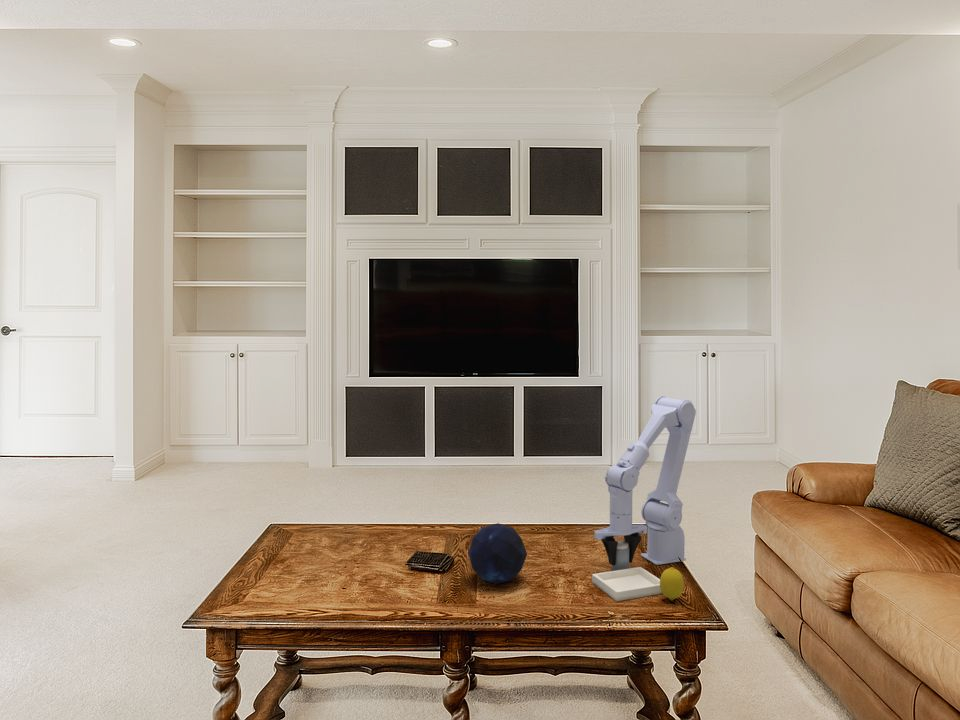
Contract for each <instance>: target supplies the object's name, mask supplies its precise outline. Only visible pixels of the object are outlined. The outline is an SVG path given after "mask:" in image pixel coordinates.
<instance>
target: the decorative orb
mask: <svg viewBox="0 0 960 720" xmlns="http://www.w3.org/2000/svg"><path fill="white" fill-rule="evenodd" d="M467 554H468V558H469V561H470V564H471V568H472V570H473V571H474V573H475V574H477V576H478V577H479V579H480V580H483V581H486V582H488V583H491V584H492V583H493V584H495V585H500V584H503V583H508V582H511V581H514V579H515V578H516V577H517V575H519V573H520V572H521V571H522V569H523V567H524V564H525V561H526V558H527V555H528V553H527V550H526V547H525V544H524V541H523V538H522V537H521V536H520V535H519V534H518V531H516V529H515V528H514V527H512V526H509V525H505V524H502V523H500V522H497V523H494V524H490V525H486V526H482V527H481V528H480V529H479V531H478V532H476V534H475V535H474V536H473V537H472V540H471V543H470V545H469V549H468V551H467Z"/></svg>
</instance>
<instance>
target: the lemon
mask: <svg viewBox="0 0 960 720" xmlns="http://www.w3.org/2000/svg"><path fill="white" fill-rule="evenodd" d="M659 579H660V589H661V591H662V593H663V596H665V597H666V598H668V599H669V601H674V600H675V599H677V598H680V596H682V595H683V592H684V588H685V581H684V576H683V575H682V573H681V572H680V571H679V570H678V569H676V568H675V567H674V566H671V567H670V568H666V569H664V571H663V572H662V573H661V576H660V578H659Z"/></svg>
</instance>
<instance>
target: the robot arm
mask: <svg viewBox="0 0 960 720" xmlns="http://www.w3.org/2000/svg"><path fill="white" fill-rule="evenodd" d="M650 410H651V411H650V412H651V416H650V417H649V420H648V421H647V423H646V425H645V426H644V429H643V430H642V432H641V434H640V436H639V438H638V440H637V441H634V442H631V443H630V444H628V446H627V448H626V449H625V451H624V452H623V454H622V456H620V458H619V460H617V463H616V464H613V465H612V466H610V467H609V468H608V469H607V472H606V474H605V476H604V481H605V484H606V485H607V487H608V488H607V490H608V493H609V526H607V527H604V528H602V529H598V530H594V533H593V536H594V539H595V540H597V541H601V543H602V544H603V547H604V548H605V552H606V555H607V559H608V560H607V561H608V563H609V564H610V565H611V566H612V565H613V566H614V565H615V564H616V549H617V545H618V542H617V541H618V540H616V539H615V538H617V537H623V539H624V540H623V541H625V542H628V543H629V564H632V563H633V559H634V557H635V554H636V551H637V548H638V546H639V545H640V543H641V542H642V536H641V535H639V534H643V535H645V534H647V543H646V544H647V548H646V549H647V550H646V551H647V552H644V553H643V552H642V553H640V556H641V557H642V558H644V559H645V560H648V561H649V562H651V563H652V564H654V565H656V566H658V565H660V566H661V565H666V564H672V563H678V562H686V560H687V559H686V557H685V545H686V544H685V543H686V542H685V533H684V530H683V528H682V527H681V526H680V524H681V522H682V520H683V513H682V512H683V511H682V510H683V509H682V508H683V505H684V504H683V502H682V500H681V499H680V497H679V496H678V494H677V491H678V488H679V485H680V479H681V476H682V471H683V467H684V463H685V458H686V454H687V451H688V446H689V442H690V439H691V433H692V431H693V427H694V422H695V417H696V413H697V410H696V408H695V406H694V404H693V402H692V401H691V400H689V399H680V398H673V397H666V396H658V397H657V398H656V400H655V401H654V403H653V404H652V406H651V408H650ZM665 428H666V430H667V431H668V433H669V436H668V439H667V444H666V448H665V452H664V455H663V460H662V463H661V468H660V471H659V475H658V476H659V477H658V480H657V485H656V488H655V489H654V490H652V491H651V492H649V493H647V497H646V499H645V502H644V503H643V505H642V506H641V517H642V519H643V520H644V521H645V524H633V490H634V488H635V487H636V486H637V485H638V482H639V481H638V480H639V475H640V471H641V470H642V468H643V466H644V464H645V463H646V461H647V460H648V458H649V457H650V451H649V449H650V447H652V445H653V444H654V442H655V441H656V440H657V438H659V436H660V435H661V433H662V432H663V431H664V430H665ZM678 557H679V558H680V559H681V561H680V560H679V558H678Z"/></svg>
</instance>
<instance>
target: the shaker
mask: <svg viewBox="0 0 960 720" xmlns="http://www.w3.org/2000/svg"><path fill="white" fill-rule="evenodd" d="M616 541H617V542H618V545H617V549H616V564H615V565H614V566H613V565H611V569H612V570H611V571H616V570H623V569H629V568H630V563H629V543H628V542H625V540H616Z"/></svg>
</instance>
